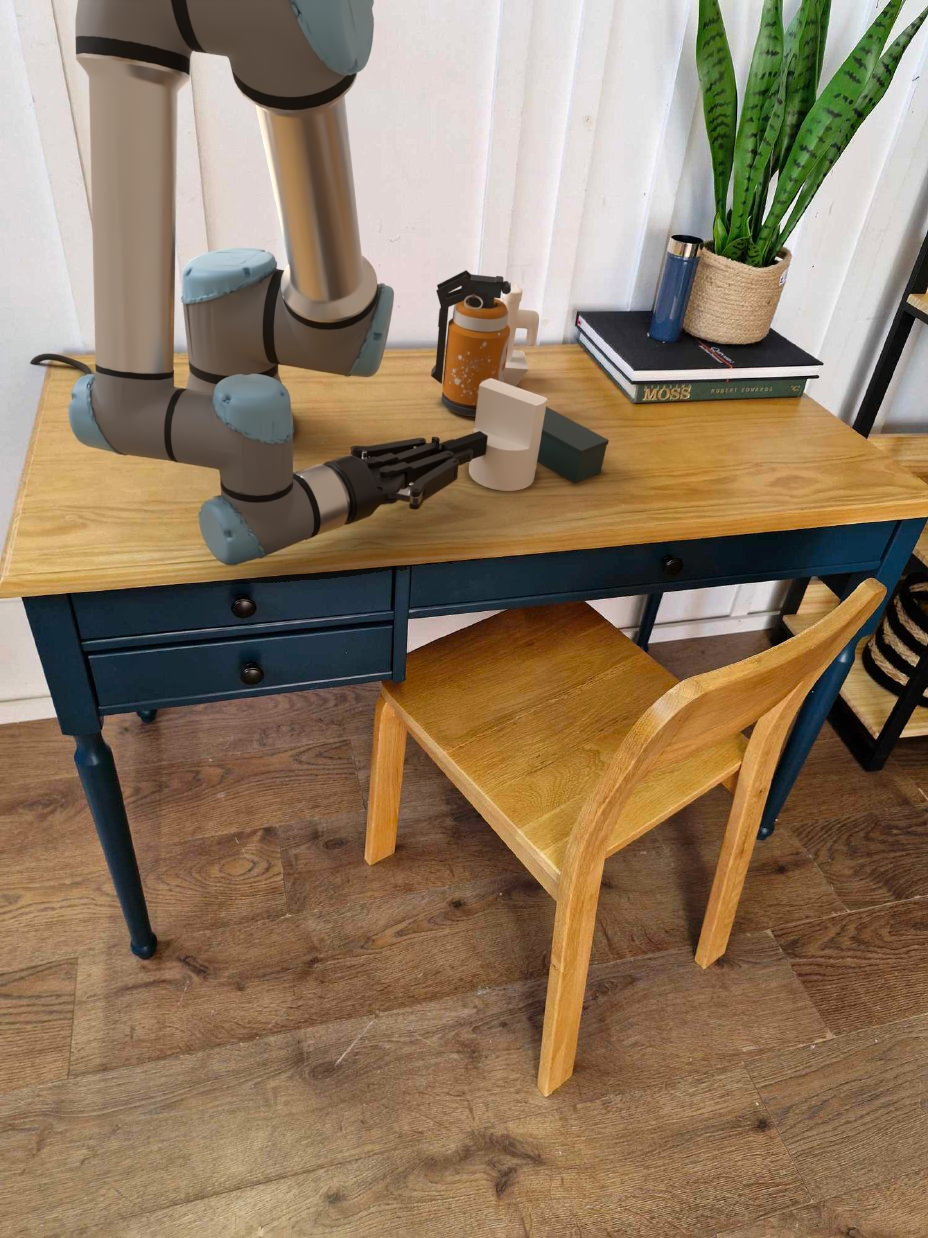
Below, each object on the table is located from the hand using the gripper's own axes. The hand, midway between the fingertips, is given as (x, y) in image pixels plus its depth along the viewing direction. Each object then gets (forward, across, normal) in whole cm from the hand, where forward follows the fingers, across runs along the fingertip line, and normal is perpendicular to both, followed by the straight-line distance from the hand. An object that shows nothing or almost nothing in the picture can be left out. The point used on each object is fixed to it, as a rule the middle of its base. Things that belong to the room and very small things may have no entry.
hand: (482, 442), depth 119 cm
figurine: (+26, -22, -6) cm, 35 cm away
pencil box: (+14, 0, -6) cm, 16 cm away
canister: (+14, -18, -6) cm, 24 cm away
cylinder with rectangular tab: (+5, 0, -6) cm, 8 cm away
